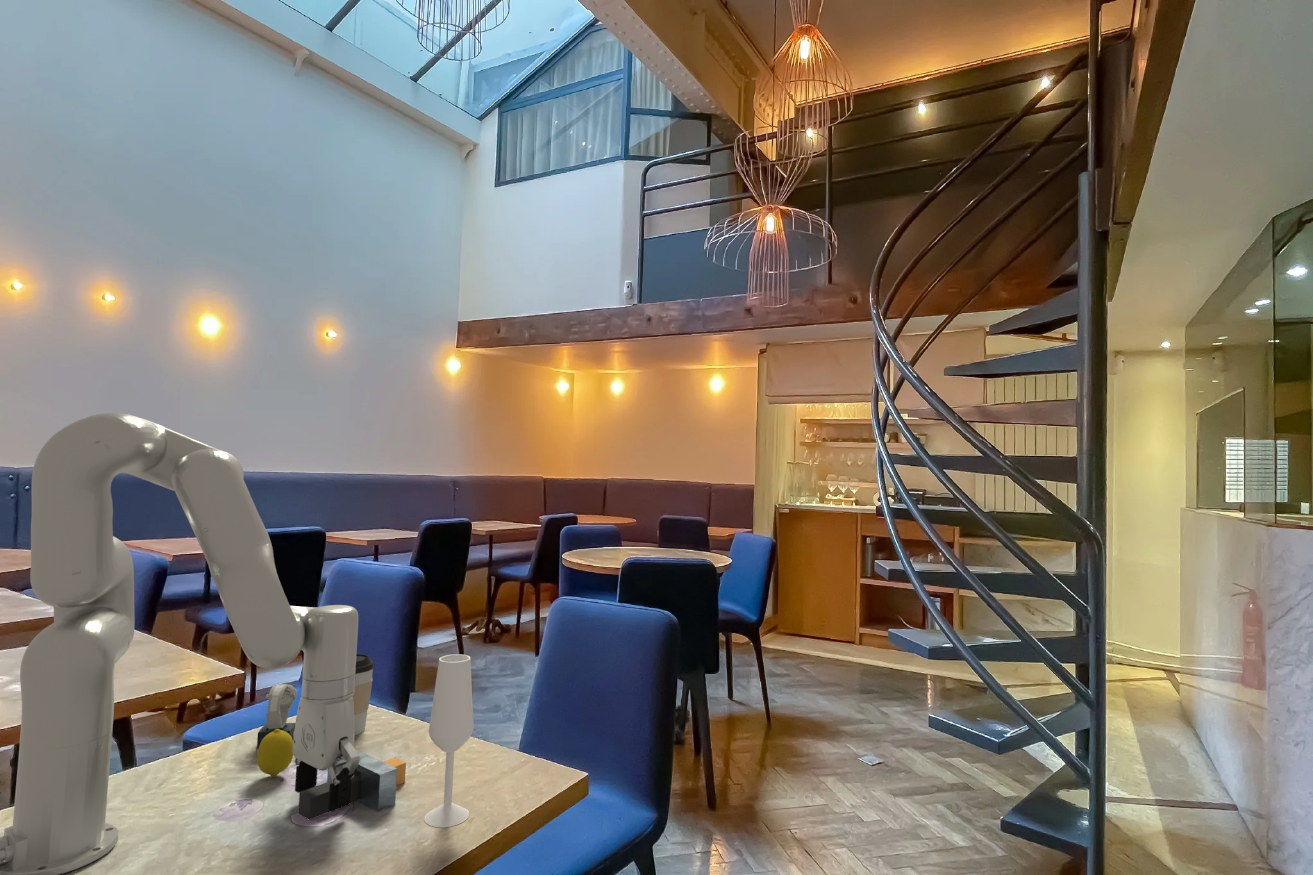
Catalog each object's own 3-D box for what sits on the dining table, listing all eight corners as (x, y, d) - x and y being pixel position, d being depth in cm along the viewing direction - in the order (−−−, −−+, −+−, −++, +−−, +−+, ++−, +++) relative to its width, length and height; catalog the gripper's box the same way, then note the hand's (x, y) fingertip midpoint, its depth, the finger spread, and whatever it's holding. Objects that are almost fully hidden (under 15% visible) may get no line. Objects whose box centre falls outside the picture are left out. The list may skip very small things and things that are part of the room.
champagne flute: (447, 801, 108) (454, 650, 110) (478, 812, 105) (486, 656, 107) (414, 819, 102) (422, 659, 104) (447, 831, 99) (455, 666, 101)
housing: (378, 811, 104) (380, 774, 105) (326, 784, 113) (329, 750, 113) (395, 804, 107) (397, 768, 107) (343, 778, 115) (345, 744, 116)
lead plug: (309, 820, 101) (310, 798, 102) (298, 813, 103) (299, 792, 103) (404, 781, 115) (405, 762, 115) (393, 776, 117) (394, 757, 117)
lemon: (264, 787, 111) (267, 737, 112) (249, 777, 115) (253, 729, 115) (298, 776, 116) (301, 728, 116) (283, 767, 119) (286, 720, 119)
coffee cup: (317, 740, 131) (321, 662, 132) (328, 723, 140) (332, 650, 141) (366, 737, 133) (371, 661, 134) (374, 721, 142) (378, 649, 143)
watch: (297, 734, 133) (301, 678, 134) (286, 751, 126) (290, 691, 126) (266, 736, 132) (269, 679, 133) (253, 753, 124) (257, 692, 125)
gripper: (276, 680, 108) (269, 790, 106) (335, 704, 98) (328, 825, 97) (322, 670, 114) (316, 774, 113) (382, 692, 104) (376, 806, 103)
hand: (321, 798), depth 105 cm, fingers open, 9 cm apart
